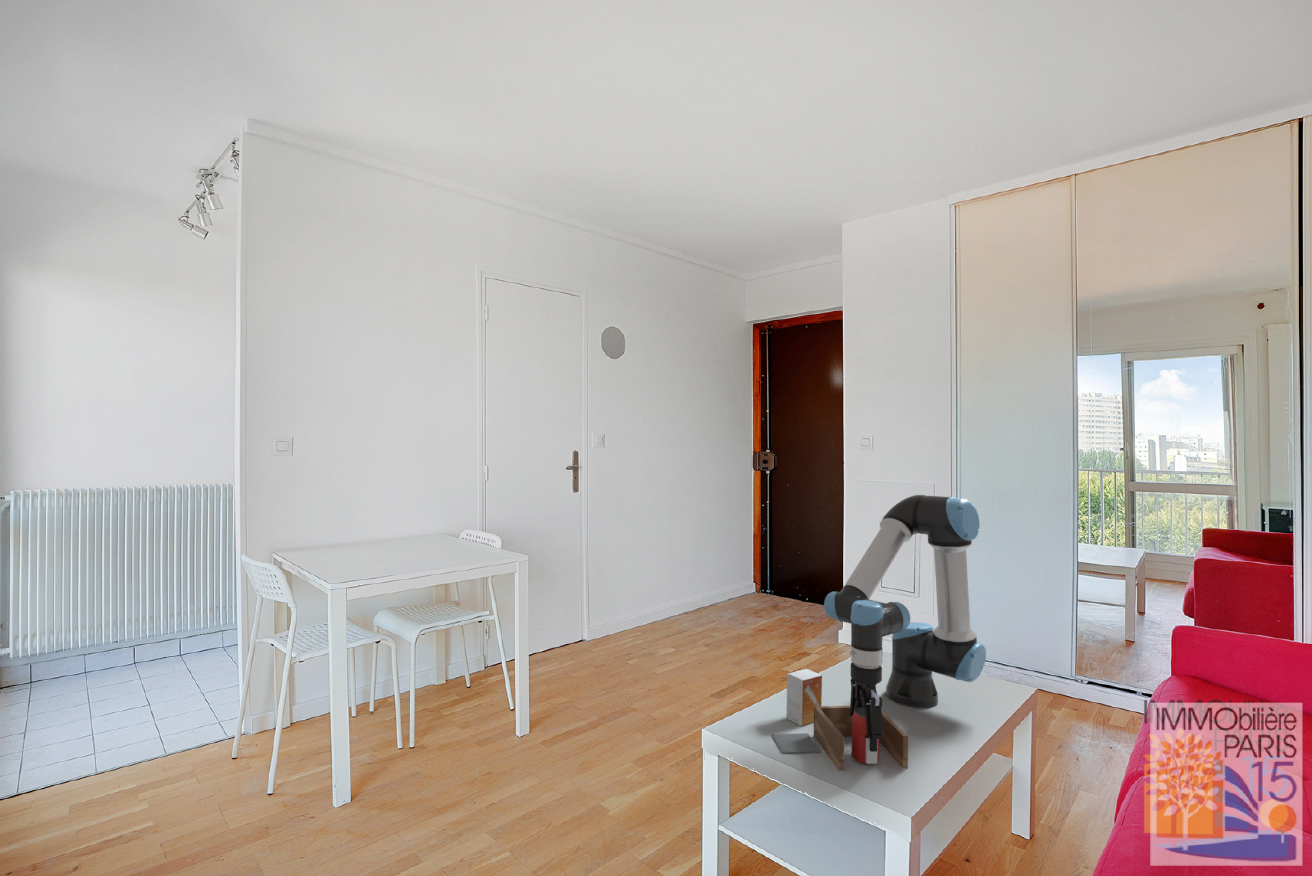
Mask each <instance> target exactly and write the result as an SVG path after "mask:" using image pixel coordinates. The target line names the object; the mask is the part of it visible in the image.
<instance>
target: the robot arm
mask: <svg viewBox="0 0 1312 876" xmlns="http://www.w3.org/2000/svg"><path fill="white" fill-rule="evenodd" d="M879 528H880V529H879V530H878V532H877V534H876V535H875V536H874V538H873V540H872V541H871V543H870V544H869V546H868V547H867V549H866V552H864V554H863V555H862V557H861V558H860V560H859V562H858V564H857V565H856V566H855V569H854V570H853V572H852V573H851V574H850V577H849V578H848V579H847V581H846V583H845V584H844V586H843V587H842V589H841V590H840V591H831V592H829V593H828V594H826V596H825V598H824V603H823V608H824V609H823V610H824V612H825V614H826V615H827V617H829V619H833V620H836V621H839V622H842V623H847V624H850V632H851V633H850V637H851V638H850V639H851V640H850V650H849V655H850V661H851V663H850V685H851V686H850V703H849V706H850V715H851V716H853V714H854V709H856V708H858V707H864V709H865V717H866V725H867V734H868V735H865V738H866V757H865V762H866V763H867V764H872V765H874V764H873V763H875V764H878V762H877V748H878V739H882V737H883V736H882V711H883V710H882V709H883V708H882V707H883V698H882V696H878V691H877V685H878V684H879V683H881V682H882V679H883V668H882V665H883V638H884V637H887V636H890V635H891V636H892V637H891V640H892V642H891V643H892V653H891V654H892V655H891V656H892V658H891V660H892V661H891V662H892V663H891V664H892V666H891V673H890V676H889V678H888V680H887V684H886V686H885V687H886V688H885V696H886V697H887V698H888V699H889V700H891V701H892V702H895V703H896V704H899V705H902V706H905V707H912V708H921V709H922V708H924V709H925V708H931V707H935V706H936V705H937V704H938V703H939V694H938V690H937V687H936V684H935V680H934V678H933V673H936V674H939V675H942V676H945V677H949V678H952V679H955V680H957V681H963V682H966V683H973V682H974V681H976V680H977V679H978V678H979V677H980V675H981V673H982V672H983V669H984V667H985V663H986V660H987V659H986V658H987V649H986V647H985V645H984V644H982V643H981V642H978V639H977V633H976V632H975V630H974V629H972V628H971V616H970V598H969V597H970V596H969V579H968V577H969V576H968V575H969V574H968V560H967V558H968V557H967V550H968V549H969V547H970V546H971V545H972V541H973V540H975V539H976V538H977V537H978V535H979V529H980V517H979V514H978V510H977V508H976V507H975V505H974V504H973V503H972V502H971V501H970V500H969V499H966V498H961V497H960V498H958V497H955V496H938V495H925V494H915V495H911V496H908V497H906V498H904V499H902V500H901V501H899V502H897V503H896V504H894V505H893V506H892V507H891V508H890V509H889V510H888V511H887V512H886V514H885V515H884V516H883V518H882V519H881V521H880V523H879ZM918 534H921V535H927V544H929V545H930V546H931V547H932V548H933V554H934V555H933V556H934V573H935V591H936V605H937V606H936V608H937V623H938V624H937V626H936V627H935V628H934V627H933V626H932V624H930V623H926V622H915V621H913V622H912V621H911V615H910V612H909V610H908V607H906V605H904V604H902V602H899V601H889V602H887V603H886V602H881V601H877V600H873V599H871V597H872V596H873V594H874V592H875V591H876V589H877V587H878V585H879V584H880V583H881V580H882V579H883V577H884V576H885V574H886V572H887V571H888V570H889V568H890V566H891V564H892V563H893V561H894V560H895V558H896V557H897V554H898V553H899V552H900V549H901V548H902V546H903V545H904V543H907V542H909V541H910V540H911V538H912V537H913V536H914V535H918Z"/></svg>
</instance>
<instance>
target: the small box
mask: <svg viewBox="0 0 1312 876" xmlns="http://www.w3.org/2000/svg"><path fill="white" fill-rule="evenodd" d="M786 676H787V677H786V717H785V718H786V719H788V720H789V721H791V722H793V723H795V724H796V725H799V726H801V727H803V726H806V725H809V724H812V723H814V706H822V701H823V700H822V696H823V694H822V693H823V690H822V689H823V688H822V687H823V675H822V674H820V673H817V672H815V671H813V670H811V669H808V668H804V669H801V670H796V671H793V672H789V673H787V675H786Z"/></svg>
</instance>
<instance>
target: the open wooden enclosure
mask: <svg viewBox="0 0 1312 876" xmlns="http://www.w3.org/2000/svg"><path fill="white" fill-rule="evenodd" d="M852 717H853V716H851V715H850V705H823V706H822V705H821V706H814V722H813V738H815V740H816V741H817V743H818V744H819V745H820V746H821V748H822V749H823V751H824V752H825V754H826V755H827V756H828V758H829V759H830V760H831V762H832V763H833V764H834V766H835V768H836V769H837V770H838V772H840V771H841V772H844V771H845V761H844V760H845V738H852ZM882 736H883V737H882V739H879V745H880V746H882V748H884V750H885V751H886V752H887V753H888V755H890V757H892V759H893V760H894V761H895V762H896V763H897V764H898V765H899V766H900V767H901V768H902V769H904V770H905V769H908V768H909V767H908V766H909V765H908V764H909V735H908V734H907V733H906V732H905V731H904V730H903V729H901V728H900V726H898V725H897V724H896V723H895V721H893V720H892V719H891V718H890V717H889V716H888V715H887V714H886V713H885V712H884V711H883V710H882Z"/></svg>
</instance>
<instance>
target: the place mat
mask: <svg viewBox="0 0 1312 876" xmlns="http://www.w3.org/2000/svg"><path fill="white" fill-rule="evenodd" d="M771 736H772V738H773V740H774V742H775V743H776V745H777V747H778V749H779V750H780V752H781V753H782V755H787V754H790V755H794V754H815V753H816V754H819V753H820V754H821V753H822V750H821V749H820V748H819V747H818V745H817V744H816V742H815V741H814V740H813V738H812V737H811V735H810V734H809V733H808V732H806V733H805V732H804V733H803V732H802V733H772V734H771Z"/></svg>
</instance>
